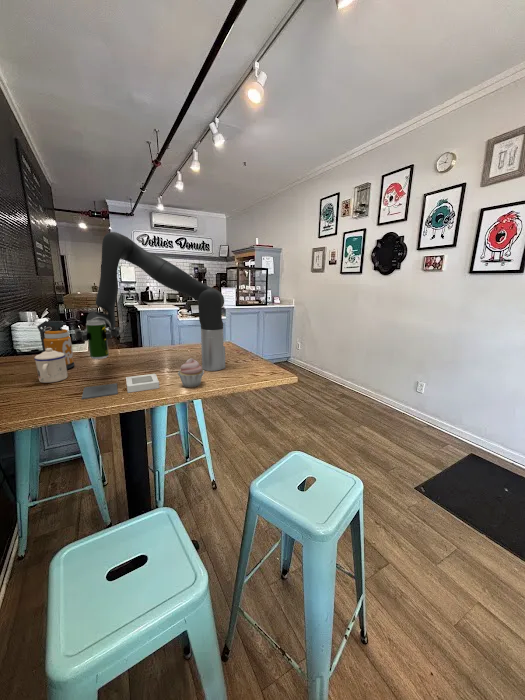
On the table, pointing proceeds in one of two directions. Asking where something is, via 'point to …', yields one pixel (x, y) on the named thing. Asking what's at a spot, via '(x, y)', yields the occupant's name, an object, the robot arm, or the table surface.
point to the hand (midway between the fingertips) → (96, 337)
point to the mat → (99, 391)
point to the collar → (142, 386)
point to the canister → (57, 339)
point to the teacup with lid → (51, 366)
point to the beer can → (97, 339)
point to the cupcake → (191, 373)
